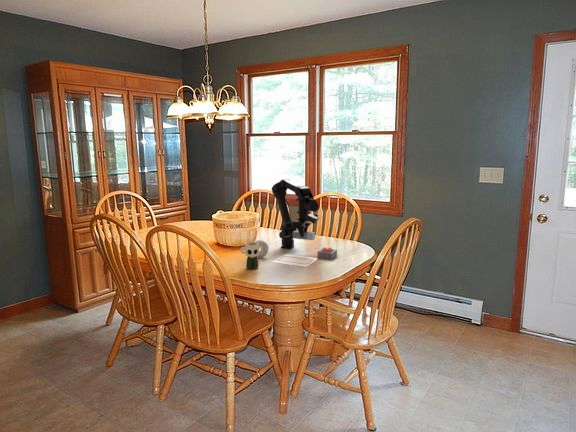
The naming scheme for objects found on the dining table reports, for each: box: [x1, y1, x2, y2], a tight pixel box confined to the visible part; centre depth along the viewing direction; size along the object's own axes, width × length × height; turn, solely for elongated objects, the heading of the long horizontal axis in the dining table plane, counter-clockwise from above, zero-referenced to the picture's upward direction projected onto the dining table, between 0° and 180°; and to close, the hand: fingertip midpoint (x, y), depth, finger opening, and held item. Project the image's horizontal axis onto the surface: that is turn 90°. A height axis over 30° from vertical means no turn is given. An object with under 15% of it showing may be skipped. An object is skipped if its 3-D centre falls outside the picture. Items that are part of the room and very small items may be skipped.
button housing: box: [316, 247, 338, 260], centre depth 237 cm, size 8×8×4 cm
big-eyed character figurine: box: [240, 241, 263, 270], centre depth 216 cm, size 11×7×13 cm, turn 101°
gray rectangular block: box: [293, 230, 316, 241], centre depth 242 cm, size 12×4×4 cm, turn 64°
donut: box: [254, 239, 269, 259], centre depth 234 cm, size 10×3×10 cm, turn 99°
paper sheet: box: [272, 253, 320, 268], centre depth 230 cm, size 20×17×1 cm
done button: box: [322, 246, 333, 253], centre depth 236 cm, size 5×5×4 cm
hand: (303, 236), depth 242 cm, fingers closed on gray rectangular block, 3 cm apart
